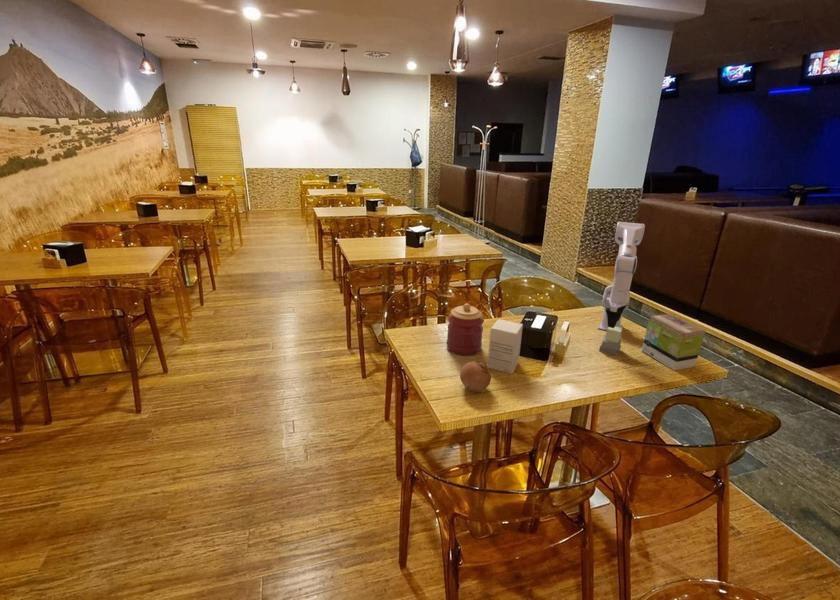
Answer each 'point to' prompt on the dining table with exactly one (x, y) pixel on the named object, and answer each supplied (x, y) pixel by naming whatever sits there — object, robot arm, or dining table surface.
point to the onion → (475, 376)
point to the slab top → (610, 344)
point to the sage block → (613, 334)
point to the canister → (465, 330)
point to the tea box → (673, 341)
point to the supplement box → (504, 346)
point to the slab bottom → (609, 350)
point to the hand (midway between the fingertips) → (613, 323)
